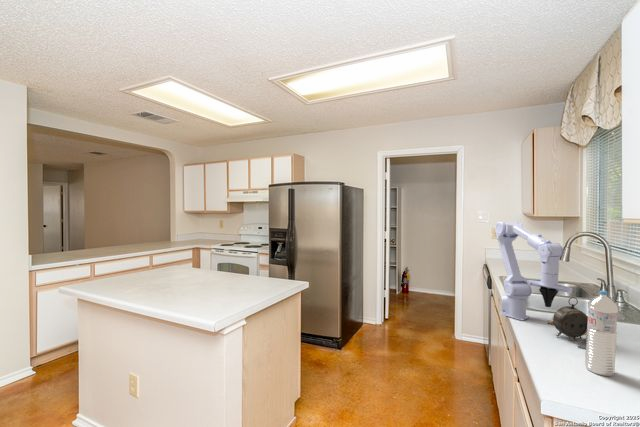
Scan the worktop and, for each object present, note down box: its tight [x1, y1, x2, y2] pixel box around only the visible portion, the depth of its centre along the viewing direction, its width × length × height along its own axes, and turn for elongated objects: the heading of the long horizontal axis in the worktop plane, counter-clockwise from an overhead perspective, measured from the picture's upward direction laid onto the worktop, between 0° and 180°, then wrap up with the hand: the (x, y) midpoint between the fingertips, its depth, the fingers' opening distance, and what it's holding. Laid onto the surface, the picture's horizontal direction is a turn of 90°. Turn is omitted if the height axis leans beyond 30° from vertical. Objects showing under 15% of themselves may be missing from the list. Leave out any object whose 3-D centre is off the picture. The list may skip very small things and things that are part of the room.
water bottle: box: [584, 290, 619, 377], centre depth 95 cm, size 7×7×25 cm
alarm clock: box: [552, 296, 588, 342], centre depth 118 cm, size 11×5×16 cm, turn 84°
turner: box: [547, 320, 587, 336], centre depth 129 cm, size 14×4×1 cm, turn 38°
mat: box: [577, 337, 586, 351], centre depth 113 cm, size 8×14×1 cm, turn 128°
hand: (548, 306), depth 124 cm, fingers closed
